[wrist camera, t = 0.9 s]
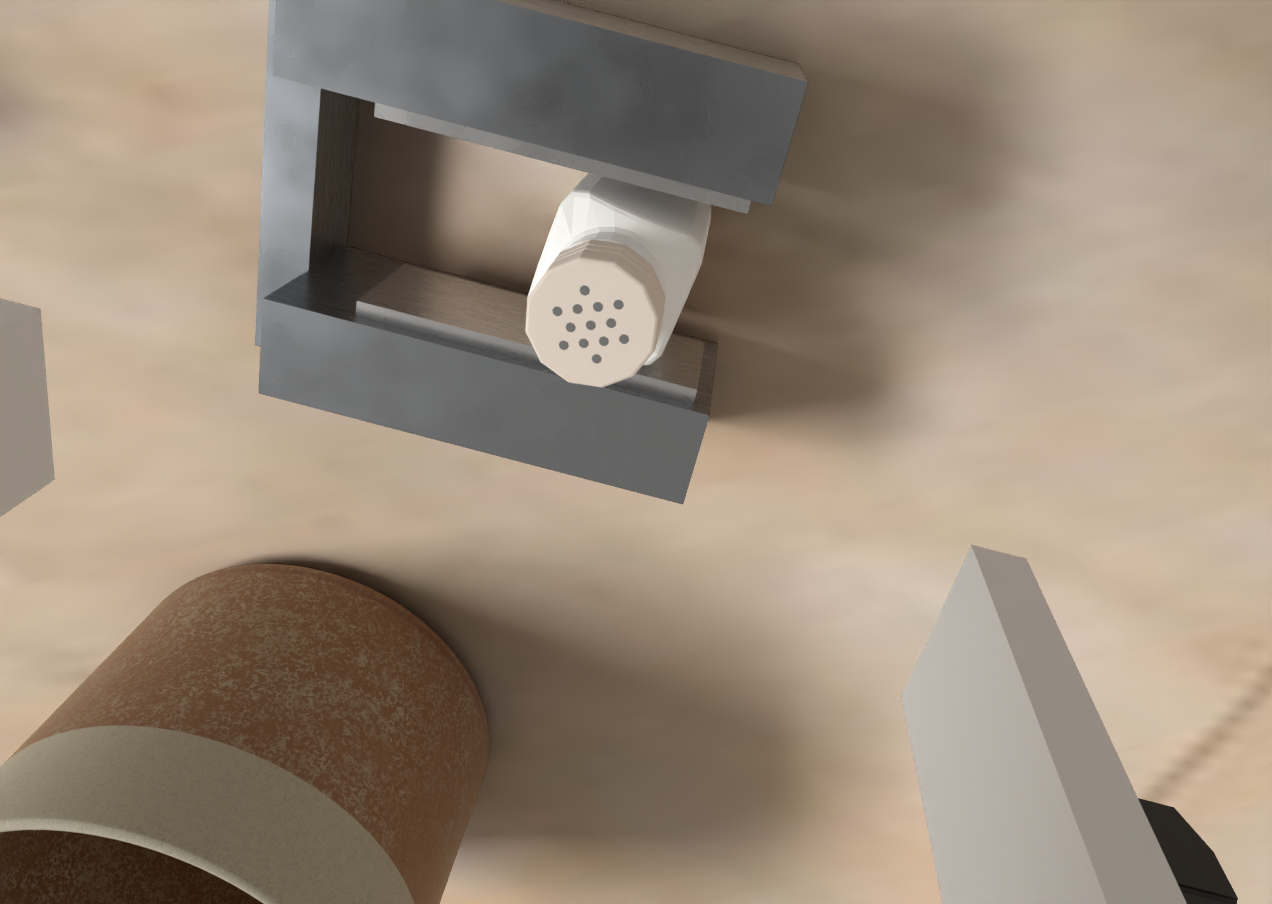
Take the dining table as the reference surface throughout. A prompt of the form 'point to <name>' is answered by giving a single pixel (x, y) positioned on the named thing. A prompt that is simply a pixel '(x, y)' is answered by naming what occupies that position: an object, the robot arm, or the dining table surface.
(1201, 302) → the dining table surface
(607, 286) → the pepper shaker
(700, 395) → the vise
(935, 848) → the robot arm
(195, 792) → the planter
